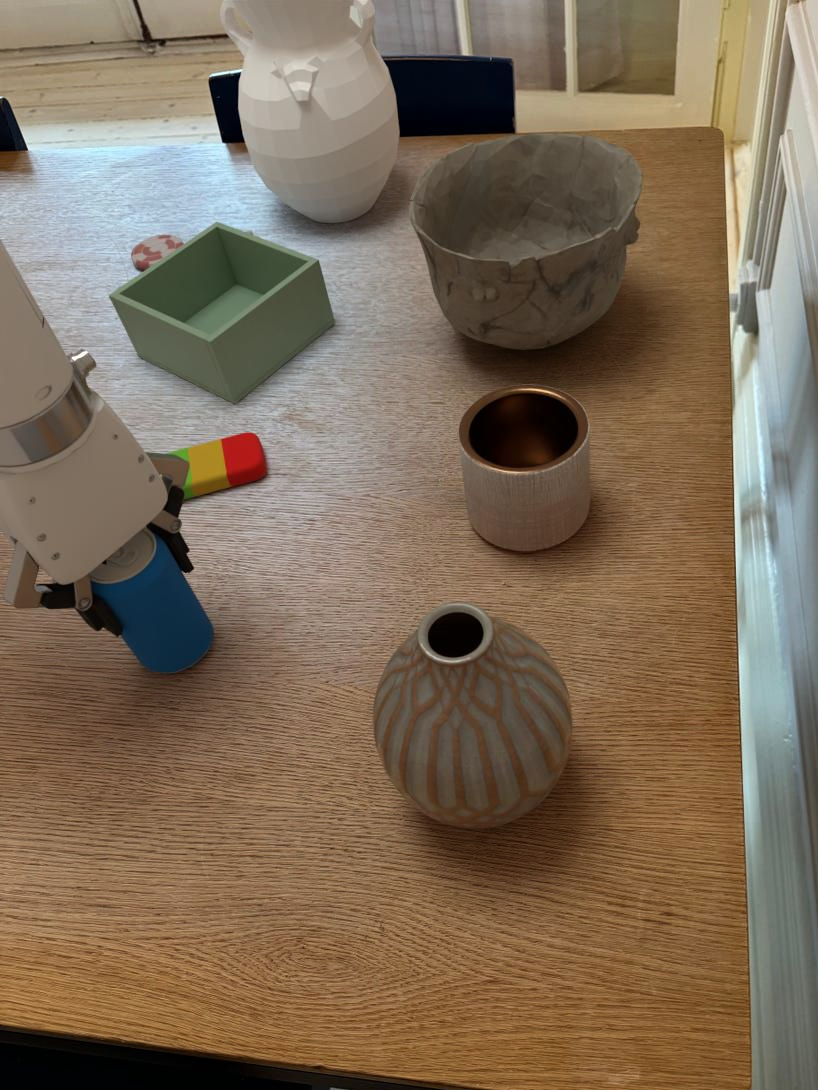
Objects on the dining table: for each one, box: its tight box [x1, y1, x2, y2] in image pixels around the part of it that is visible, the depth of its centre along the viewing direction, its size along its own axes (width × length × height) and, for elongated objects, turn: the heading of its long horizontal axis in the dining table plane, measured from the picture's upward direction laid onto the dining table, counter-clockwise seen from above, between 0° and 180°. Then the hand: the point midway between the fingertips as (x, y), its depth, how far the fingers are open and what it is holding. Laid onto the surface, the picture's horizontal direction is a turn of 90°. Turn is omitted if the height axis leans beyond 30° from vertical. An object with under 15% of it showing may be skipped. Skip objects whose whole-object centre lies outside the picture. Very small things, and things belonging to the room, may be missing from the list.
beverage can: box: [90, 526, 214, 674], centre depth 68 cm, size 6×6×12 cm
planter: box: [456, 383, 591, 552], centre depth 75 cm, size 11×11×10 cm
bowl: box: [408, 132, 644, 351], centre depth 88 cm, size 22×22×15 cm
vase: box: [372, 601, 574, 830], centre depth 57 cm, size 13×13×18 cm
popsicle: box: [160, 431, 267, 500], centre depth 84 cm, size 6×15×2 cm, turn 106°
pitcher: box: [219, 0, 401, 224], centre depth 102 cm, size 19×18×25 cm
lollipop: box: [130, 230, 254, 271], centre depth 108 cm, size 7×1×15 cm
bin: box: [108, 221, 336, 405], centre depth 94 cm, size 16×16×8 cm
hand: (144, 593), depth 68 cm, fingers closed on beverage can, 6 cm apart
